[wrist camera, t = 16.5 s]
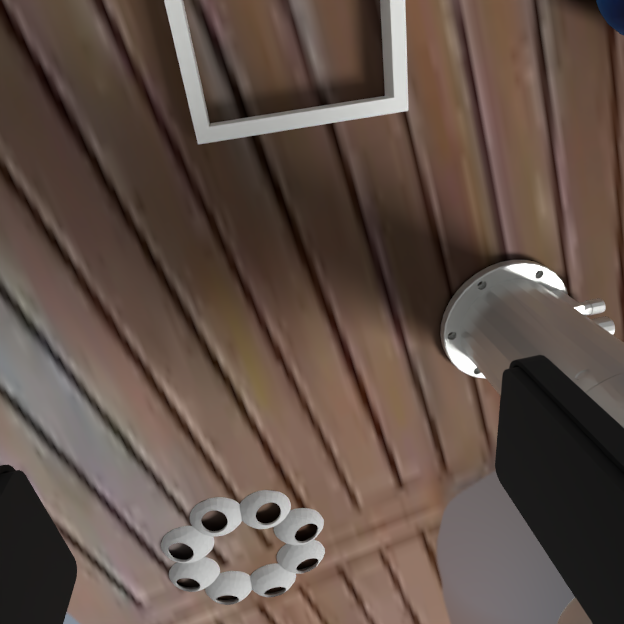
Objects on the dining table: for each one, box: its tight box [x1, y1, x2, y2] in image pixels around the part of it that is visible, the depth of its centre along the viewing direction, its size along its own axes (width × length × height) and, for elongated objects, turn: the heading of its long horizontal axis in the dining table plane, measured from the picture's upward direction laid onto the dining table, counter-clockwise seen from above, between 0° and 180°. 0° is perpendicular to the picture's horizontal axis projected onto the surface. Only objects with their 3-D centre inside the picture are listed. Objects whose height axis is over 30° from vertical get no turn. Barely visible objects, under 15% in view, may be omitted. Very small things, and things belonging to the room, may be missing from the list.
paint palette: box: [161, 490, 325, 605], centre depth 55 cm, size 20×20×2 cm
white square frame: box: [164, 0, 408, 144], centre depth 30 cm, size 15×15×2 cm
